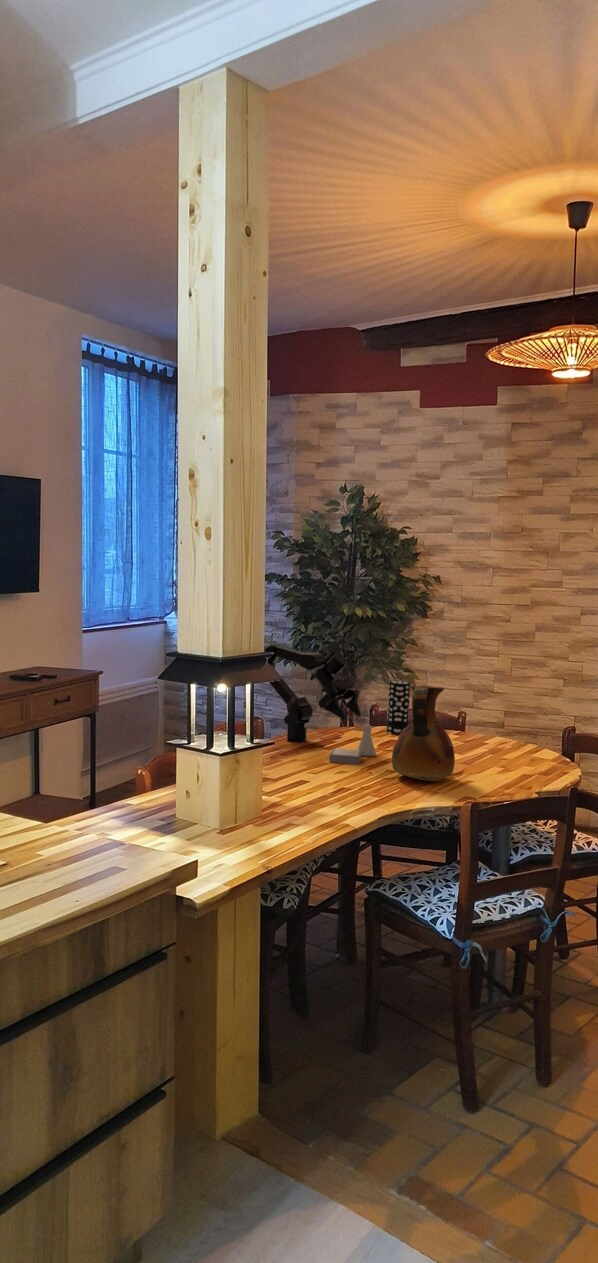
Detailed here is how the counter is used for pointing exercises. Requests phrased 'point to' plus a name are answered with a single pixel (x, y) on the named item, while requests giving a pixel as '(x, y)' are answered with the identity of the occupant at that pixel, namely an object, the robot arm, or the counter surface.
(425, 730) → the ceramic pitcher
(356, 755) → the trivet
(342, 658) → the robot arm
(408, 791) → the counter surface
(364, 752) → the flask
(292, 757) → the counter surface
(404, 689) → the white-spotted black cylinder
